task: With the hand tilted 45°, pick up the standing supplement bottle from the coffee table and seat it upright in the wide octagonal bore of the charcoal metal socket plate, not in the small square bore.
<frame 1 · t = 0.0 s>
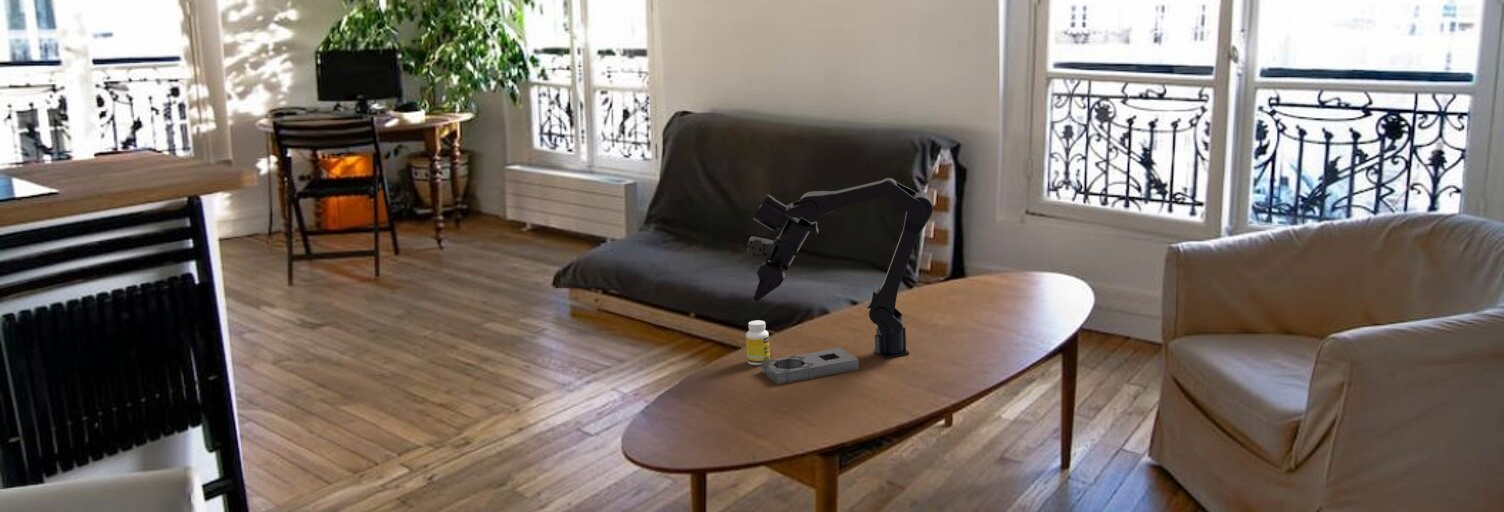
hand: (757, 295, 282), 15 cm above the table, tool tilted 35°, fingers open, 9 cm apart
socket plate: (809, 370, 272), on the table
supplement bottle: (758, 363, 280), on the table
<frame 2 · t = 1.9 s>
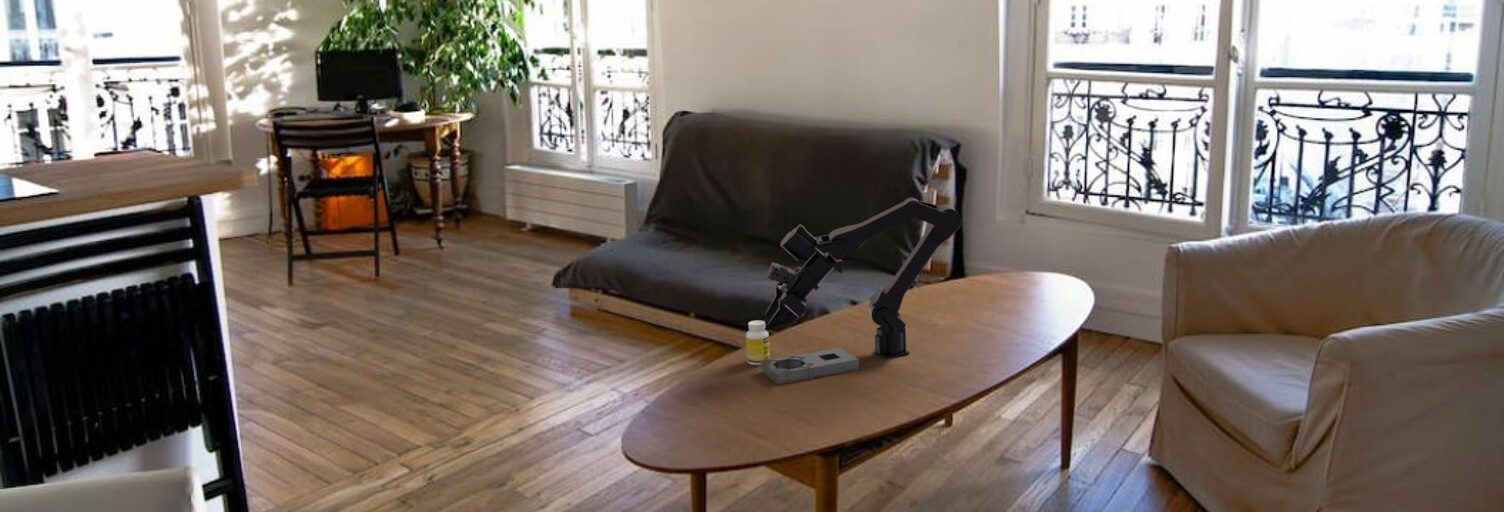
hand: (767, 322, 278), 10 cm above the table, tool tilted 45°, fingers open, 9 cm apart
nothing on the table moved.
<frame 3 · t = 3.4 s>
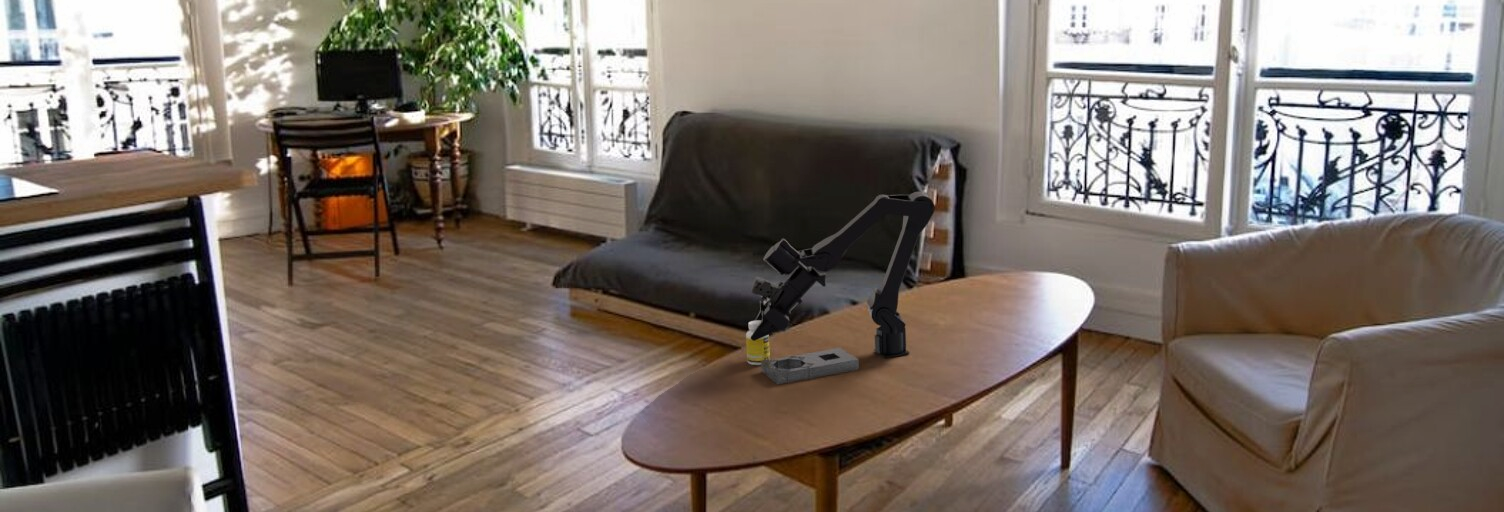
hand: (751, 335, 278), 7 cm above the table, tool tilted 45°, fingers closed on supplement bottle, 5 cm apart
supplement bottle: (758, 362, 280), on the table, touching gripper
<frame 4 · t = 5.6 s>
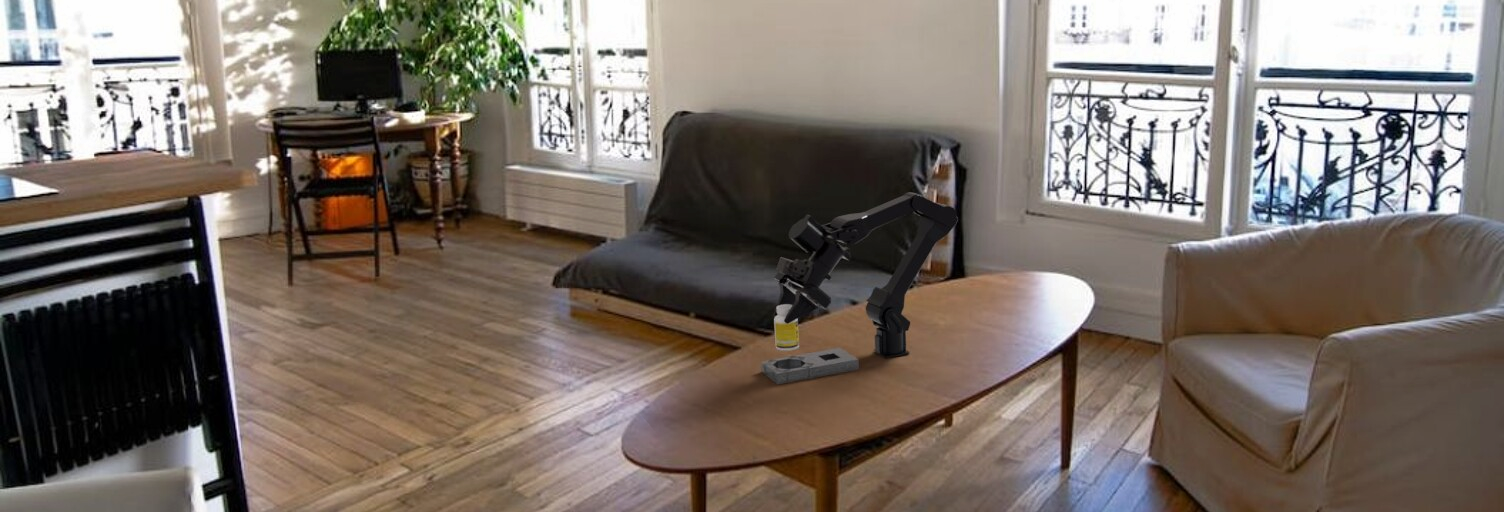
hand: (780, 319, 267), 13 cm above the table, tool tilted 45°, fingers closed on supplement bottle, 5 cm apart
supplement bottle: (787, 348, 269), point 6 cm above the table, touching gripper
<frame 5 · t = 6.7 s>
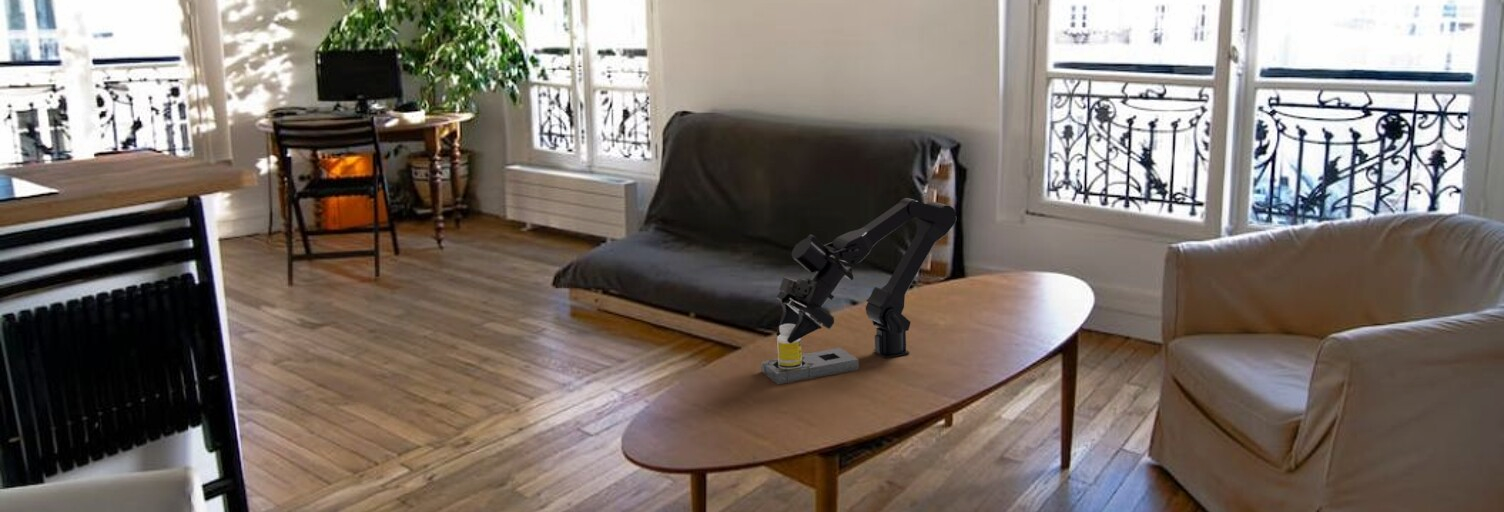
hand: (783, 339, 267), 9 cm above the table, tool tilted 45°, fingers closed on supplement bottle, 5 cm apart
supplement bottle: (790, 368, 270), point 1 cm above the table, touching gripper
when the fingers open (7 cm above the table, at t = 7.8 s): supplement bottle stays where it is, resting in socket plate.
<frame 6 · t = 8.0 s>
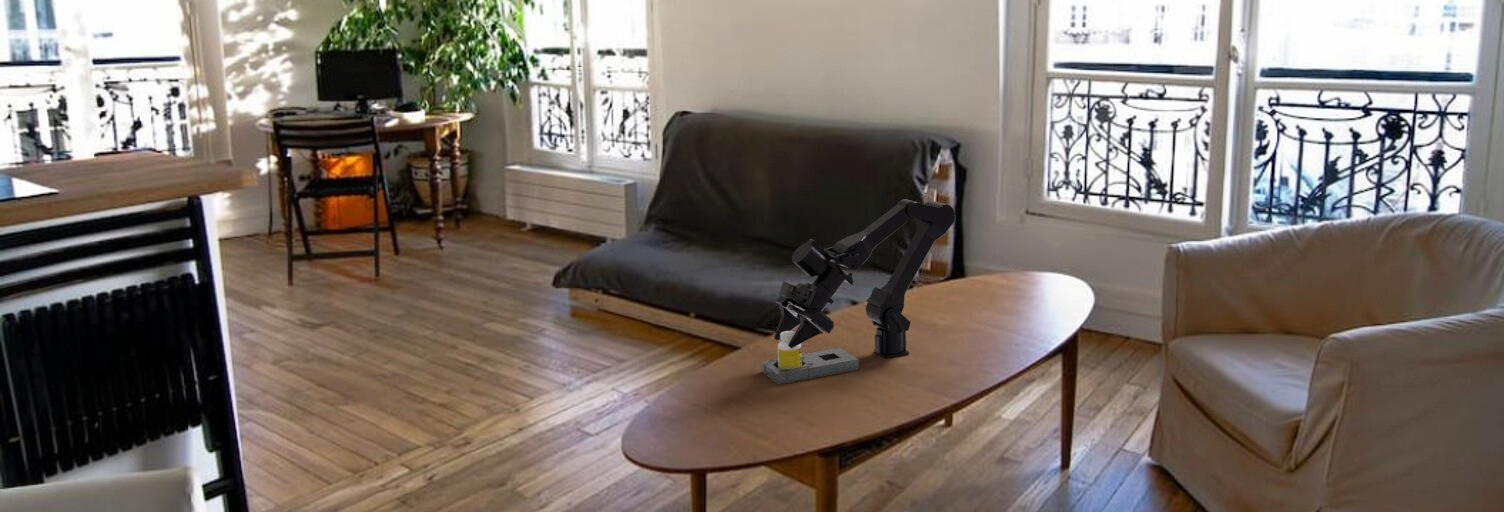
hand: (782, 343, 268), 8 cm above the table, tool tilted 45°, fingers open, 7 cm apart
supplement bottle: (790, 375, 270), resting in socket plate
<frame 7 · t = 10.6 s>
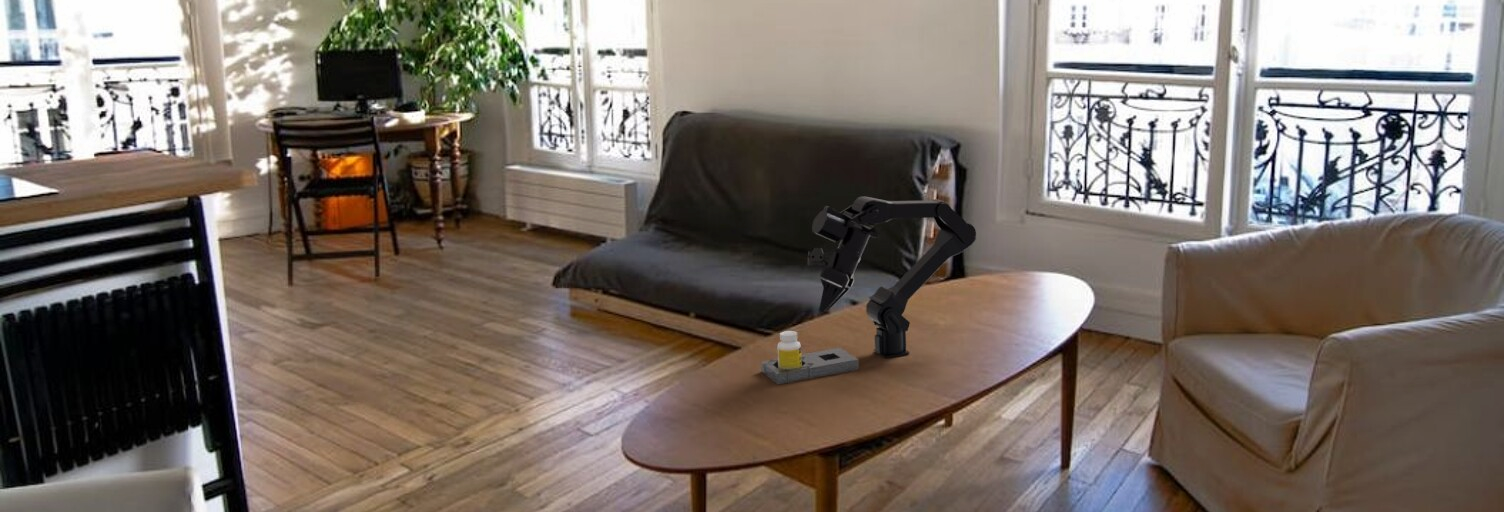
hand: (823, 311, 272), 13 cm above the table, tool tilted 30°, fingers open, 9 cm apart
nothing on the table moved.
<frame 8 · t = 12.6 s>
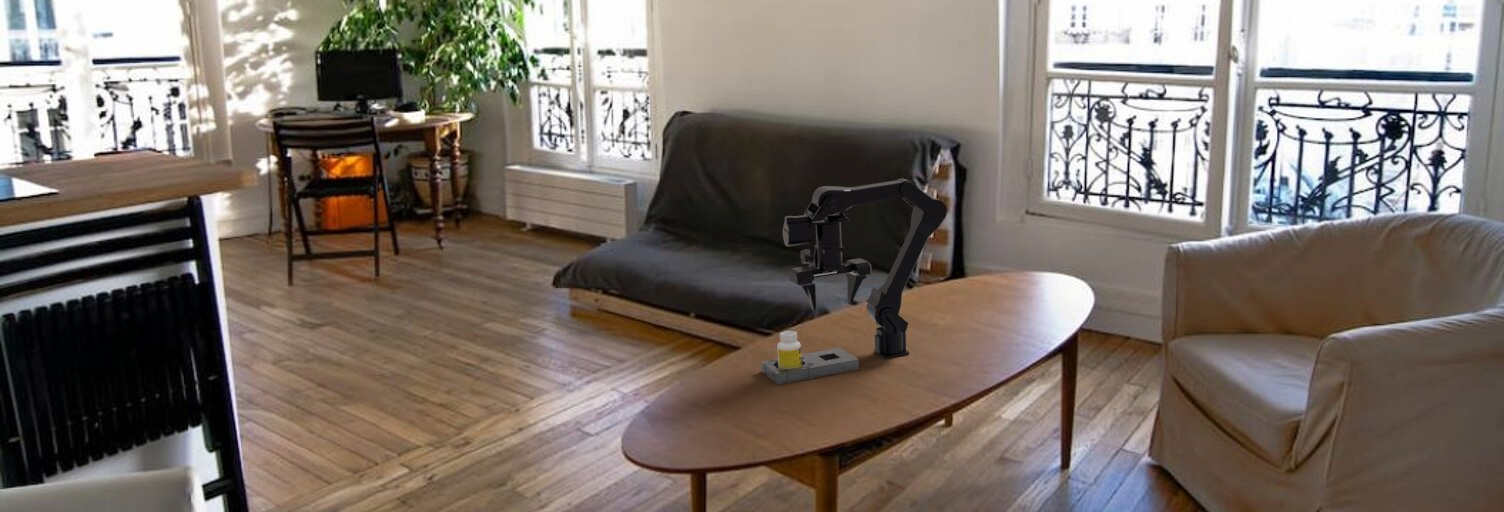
hand: (831, 307, 275), 13 cm above the table, tool pointing down, fingers open, 9 cm apart
nothing on the table moved.
at the end: supplement bottle 0.2 cm from the target spot on the socket plate, point 0.0 cm above the socket plate's base; supplement bottle tilted 0°; the gripper is holding nothing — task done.
